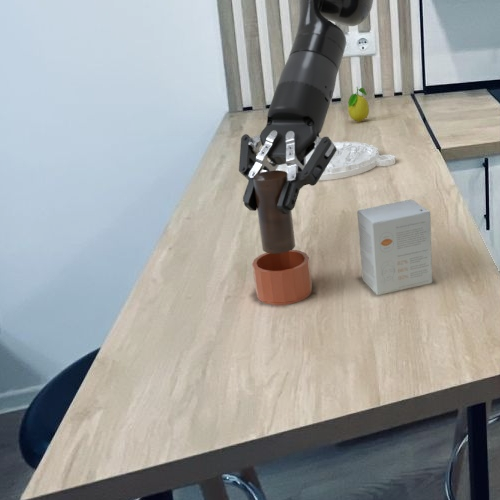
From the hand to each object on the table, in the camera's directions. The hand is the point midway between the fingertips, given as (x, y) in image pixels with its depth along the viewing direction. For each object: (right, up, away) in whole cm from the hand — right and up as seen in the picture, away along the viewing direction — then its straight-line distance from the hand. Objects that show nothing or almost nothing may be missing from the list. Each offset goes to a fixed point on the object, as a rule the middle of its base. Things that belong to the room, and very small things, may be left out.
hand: (266, 209), depth 84 cm
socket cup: (+3, -11, +6) cm, 13 cm away
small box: (+18, -10, +5) cm, 21 cm away
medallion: (+17, +13, +61) cm, 65 cm away
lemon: (+28, +30, +97) cm, 105 cm away
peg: (+2, -5, +4) cm, 6 cm away
